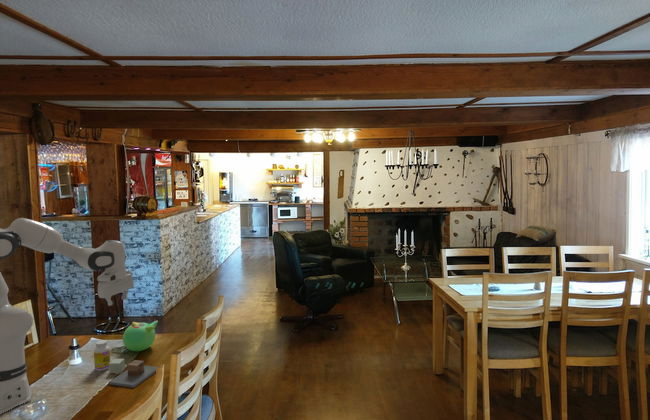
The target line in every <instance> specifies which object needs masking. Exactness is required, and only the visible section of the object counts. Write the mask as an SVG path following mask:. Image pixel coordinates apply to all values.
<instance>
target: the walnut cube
mask: <svg viewBox="0 0 650 420" xmlns="http://www.w3.org/2000/svg"><path fill="white" fill-rule="evenodd" d="M144 366H145V361H144V360H137V359H134V360H132V361H130V362H129V363H127V369H126V370H128V375H129V376H139V375H140V374H142V373H143V372H144Z"/></svg>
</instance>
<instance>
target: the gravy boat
mask: <svg viewBox="0 0 650 420" xmlns="http://www.w3.org/2000/svg"><path fill="white" fill-rule="evenodd" d="M131 323H132V324H131V325H129V326H128V327H126V329H125V331H124V333H123V336H122V343H123V345H124V347H125V348H126V349H127V350H128V351H129V350H130V351H133V352H141V351H145V350H147V349H149V348H150V347H151V346H152V345H153V344H154V341H155V338H156V330H155V329H156V327H157V325H158V323H159V321H158V320H154V321H153V322H151V323H148V322H143V321H141V322H136V321H133V322H131Z"/></svg>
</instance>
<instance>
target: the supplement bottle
mask: <svg viewBox="0 0 650 420" xmlns="http://www.w3.org/2000/svg"><path fill="white" fill-rule="evenodd" d="M95 346H96V347H95V348H94V349H93V357H94V358H93V359H94V370H95V371H98V372H102V371H103V372H104V371H106V370H109V363H110V362H111V356H110V355H111V354H110V353H111V352H110V351H111V350H110V347H109V345H108V341H107V340H104V339H103V340H98V341H96V342H95Z"/></svg>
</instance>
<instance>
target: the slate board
mask: <svg viewBox="0 0 650 420" xmlns="http://www.w3.org/2000/svg"><path fill="white" fill-rule="evenodd" d="M158 367H159V366H152V365H144V372H143V373H142V374H140V375H139V376H129V375H128V369H125V370H124V371H122V372H121V373H120V374H117V376H115V377H114V378H112V379H111V380H109V381H108V385H110V386H116V387H124V388H125V387H126V388H133V389H135V388H136V387H137V386H139V385H140V384H142V383H143V382H145V381H146V380H147V379H149V378H150V377H151V376H153V375H154V374H155V372H156V369H157V368H158ZM156 373H157V372H156Z"/></svg>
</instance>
